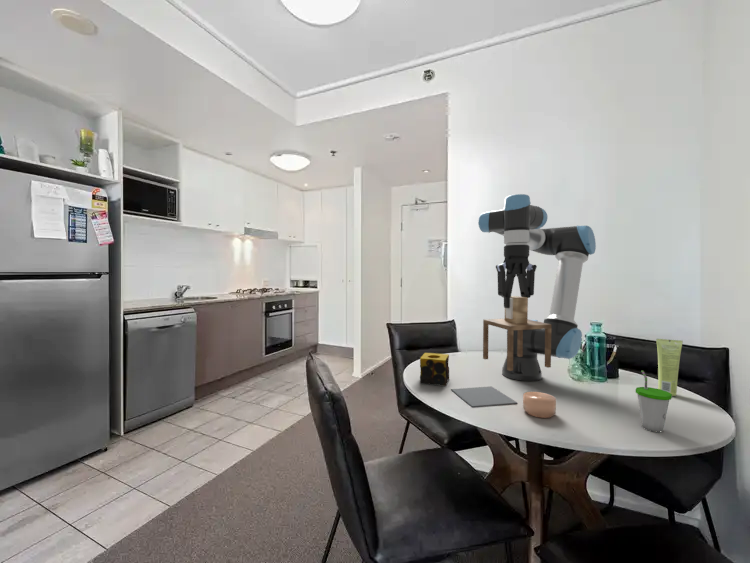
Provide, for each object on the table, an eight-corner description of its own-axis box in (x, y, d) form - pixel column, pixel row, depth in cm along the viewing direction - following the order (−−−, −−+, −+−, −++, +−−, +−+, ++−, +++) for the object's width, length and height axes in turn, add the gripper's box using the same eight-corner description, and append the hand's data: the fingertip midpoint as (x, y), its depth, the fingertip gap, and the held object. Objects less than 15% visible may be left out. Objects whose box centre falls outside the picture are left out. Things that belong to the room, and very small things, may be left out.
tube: (664, 390, 125) (666, 337, 125) (681, 395, 120) (682, 340, 120) (654, 392, 123) (656, 338, 123) (670, 397, 118) (672, 341, 118)
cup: (673, 438, 89) (675, 380, 89) (636, 430, 94) (637, 375, 93) (667, 426, 96) (669, 373, 96) (633, 420, 100) (634, 369, 100)
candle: (449, 378, 138) (449, 354, 138) (446, 386, 129) (446, 360, 128) (424, 376, 142) (424, 352, 141) (419, 383, 132) (419, 357, 132)
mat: (491, 387, 128) (491, 386, 128) (517, 403, 112) (517, 402, 112) (451, 390, 125) (451, 389, 125) (472, 407, 109) (472, 406, 109)
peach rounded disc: (542, 406, 110) (542, 390, 110) (562, 418, 101) (563, 401, 101) (516, 408, 108) (517, 392, 108) (535, 420, 99) (535, 403, 99)
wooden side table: (520, 355, 119) (521, 294, 118) (550, 367, 105) (551, 298, 104) (483, 358, 116) (483, 295, 115) (509, 370, 102) (510, 299, 101)
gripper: (531, 245, 115) (530, 315, 115) (485, 245, 111) (485, 317, 111) (548, 244, 107) (546, 318, 108) (499, 243, 103) (498, 320, 104)
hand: (515, 317), depth 110 cm, fingers closed on wooden side table, 4 cm apart
